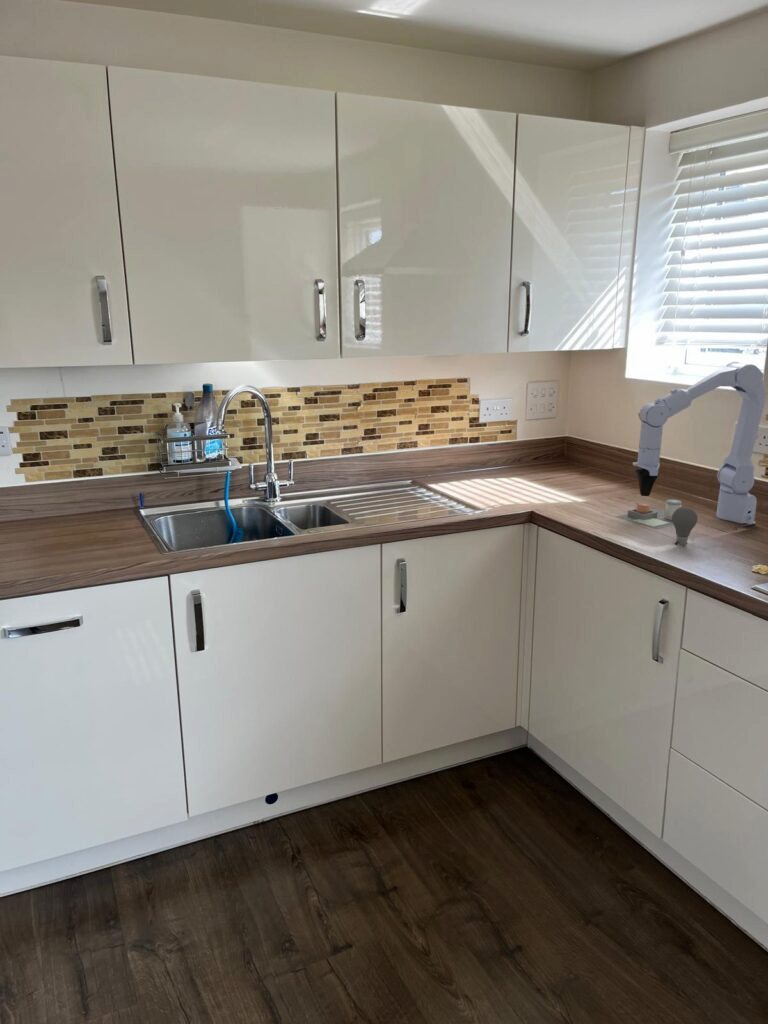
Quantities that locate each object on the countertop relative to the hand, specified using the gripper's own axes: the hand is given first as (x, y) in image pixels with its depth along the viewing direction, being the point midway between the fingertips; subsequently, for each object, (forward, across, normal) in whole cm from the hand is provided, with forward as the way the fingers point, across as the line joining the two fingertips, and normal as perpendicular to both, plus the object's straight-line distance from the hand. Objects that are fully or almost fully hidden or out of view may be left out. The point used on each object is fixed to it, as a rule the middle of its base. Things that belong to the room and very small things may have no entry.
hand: (644, 495), depth 212 cm
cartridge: (+7, 0, +8) cm, 11 cm away
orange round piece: (+6, 0, 0) cm, 6 cm away
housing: (+7, +1, +3) cm, 8 cm away
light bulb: (+8, +22, +5) cm, 23 cm away
